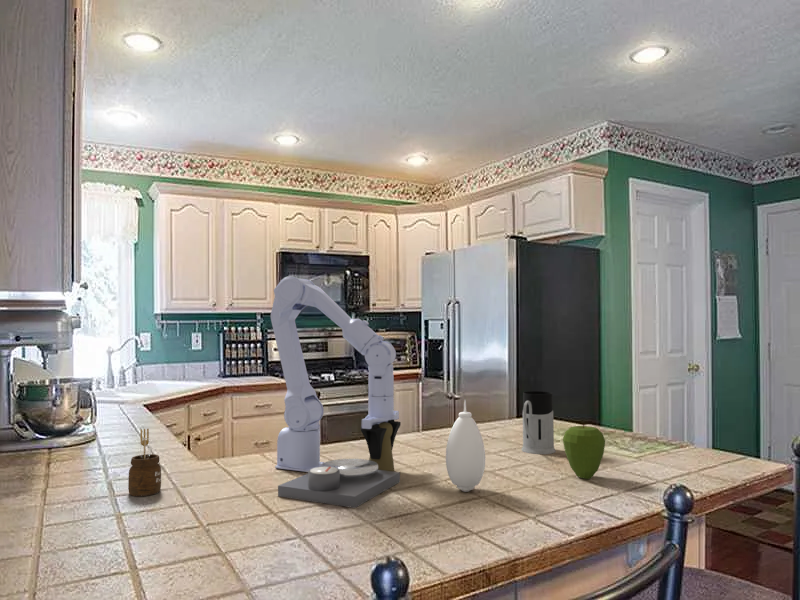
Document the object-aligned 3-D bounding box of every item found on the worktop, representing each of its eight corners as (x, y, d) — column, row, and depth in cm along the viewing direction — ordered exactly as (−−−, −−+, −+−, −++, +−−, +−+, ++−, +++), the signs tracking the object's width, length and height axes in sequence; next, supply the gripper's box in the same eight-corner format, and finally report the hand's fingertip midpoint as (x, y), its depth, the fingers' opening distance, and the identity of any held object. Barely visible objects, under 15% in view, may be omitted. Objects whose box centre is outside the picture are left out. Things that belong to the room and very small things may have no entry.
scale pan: (308, 473, 117) (308, 468, 117) (339, 461, 128) (339, 456, 128) (360, 480, 112) (360, 475, 112) (388, 466, 123) (388, 461, 123)
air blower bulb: (488, 486, 118) (488, 397, 119) (481, 497, 111) (480, 402, 111) (451, 483, 121) (450, 396, 121) (441, 493, 113) (441, 400, 114)
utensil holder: (129, 498, 111) (130, 435, 111) (127, 490, 116) (128, 430, 117) (162, 494, 113) (163, 432, 114) (159, 486, 119) (160, 427, 119)
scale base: (277, 496, 112) (278, 468, 112) (330, 473, 129) (330, 449, 129) (354, 507, 105) (354, 477, 105) (399, 481, 122) (399, 456, 122)
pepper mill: (391, 475, 127) (391, 424, 127) (364, 474, 128) (364, 424, 129) (397, 468, 133) (396, 420, 133) (371, 467, 134) (371, 419, 134)
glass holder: (560, 449, 153) (559, 392, 154) (542, 459, 141) (541, 397, 142) (528, 445, 158) (527, 390, 159) (508, 455, 146) (507, 395, 147)
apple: (607, 474, 127) (606, 421, 128) (603, 484, 119) (602, 427, 120) (566, 470, 131) (566, 419, 131) (560, 479, 123) (559, 425, 124)
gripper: (382, 400, 123) (382, 465, 122) (410, 392, 136) (410, 451, 135) (353, 398, 126) (353, 461, 125) (383, 391, 139) (383, 448, 138)
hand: (381, 456), depth 131 cm, fingers closed on pepper mill, 5 cm apart
